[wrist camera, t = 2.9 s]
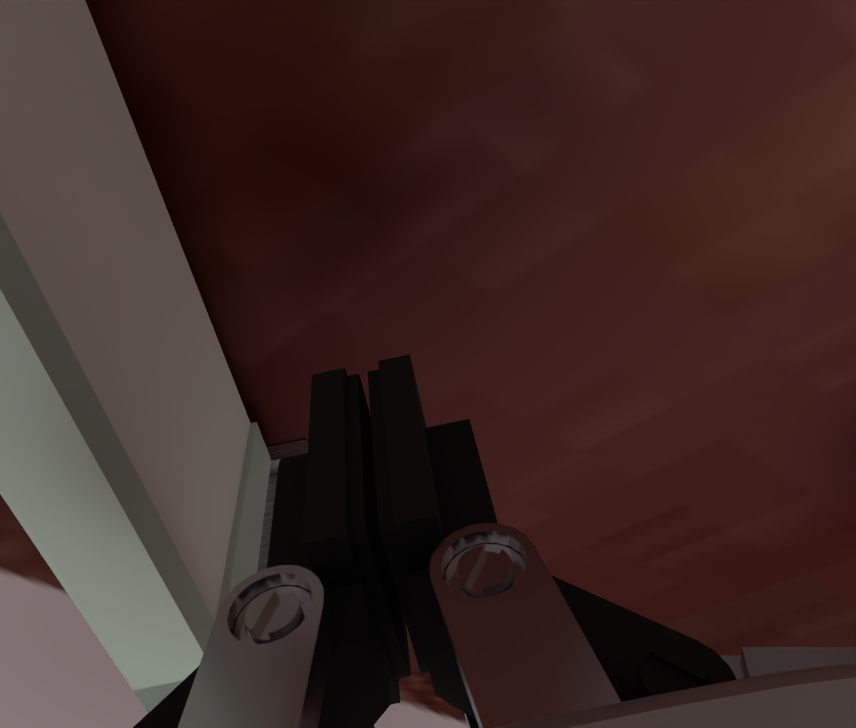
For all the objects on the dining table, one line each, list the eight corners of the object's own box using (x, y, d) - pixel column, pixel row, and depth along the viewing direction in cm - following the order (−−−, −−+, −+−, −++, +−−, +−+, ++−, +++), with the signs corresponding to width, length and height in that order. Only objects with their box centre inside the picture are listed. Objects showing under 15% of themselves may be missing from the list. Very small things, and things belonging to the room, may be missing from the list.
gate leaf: (-129, -314, 13) (-734, -592, 6) (-34, -333, 13) (-518, -639, 6) (217, 470, 24) (160, 731, 16) (271, 459, 24) (238, 715, 16)
